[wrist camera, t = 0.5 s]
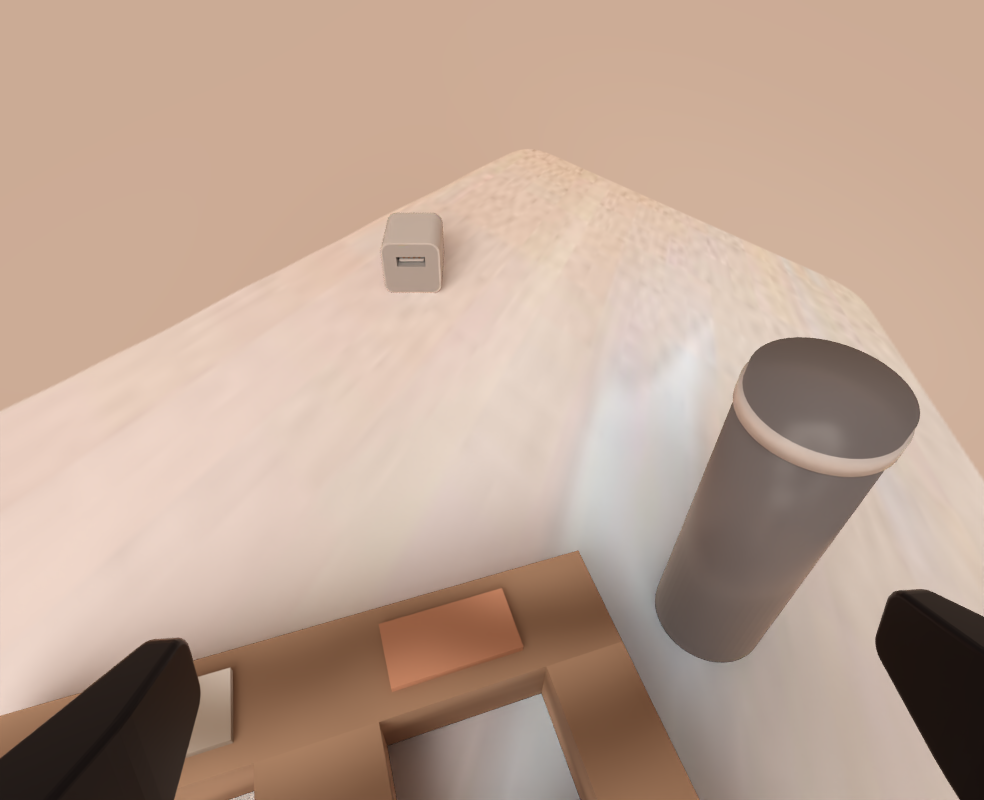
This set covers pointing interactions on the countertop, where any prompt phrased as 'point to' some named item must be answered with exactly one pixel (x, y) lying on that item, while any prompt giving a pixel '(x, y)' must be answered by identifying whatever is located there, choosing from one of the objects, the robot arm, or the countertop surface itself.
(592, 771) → the socket plate
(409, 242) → the usb wall charger
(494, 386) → the countertop surface
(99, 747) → the robot arm
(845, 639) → the countertop surface
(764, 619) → the grey cylinder
